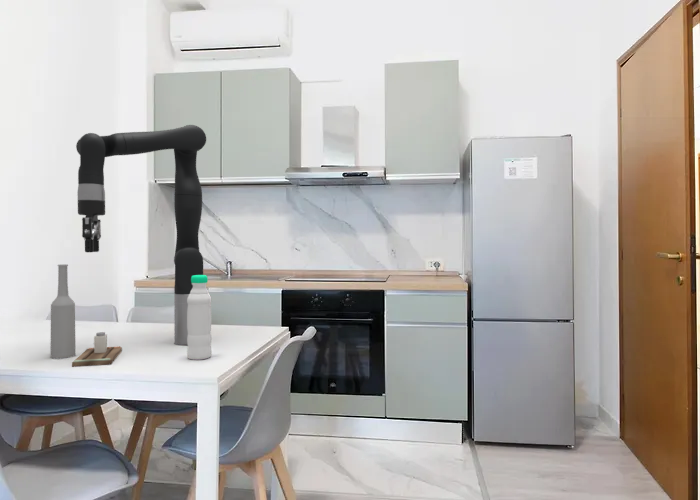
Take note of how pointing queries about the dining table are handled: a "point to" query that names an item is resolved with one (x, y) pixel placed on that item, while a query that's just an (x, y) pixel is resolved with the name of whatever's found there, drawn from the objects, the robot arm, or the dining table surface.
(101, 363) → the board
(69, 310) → the bottle
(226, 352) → the dining table surface
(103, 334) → the slider knob
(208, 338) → the water bottle
